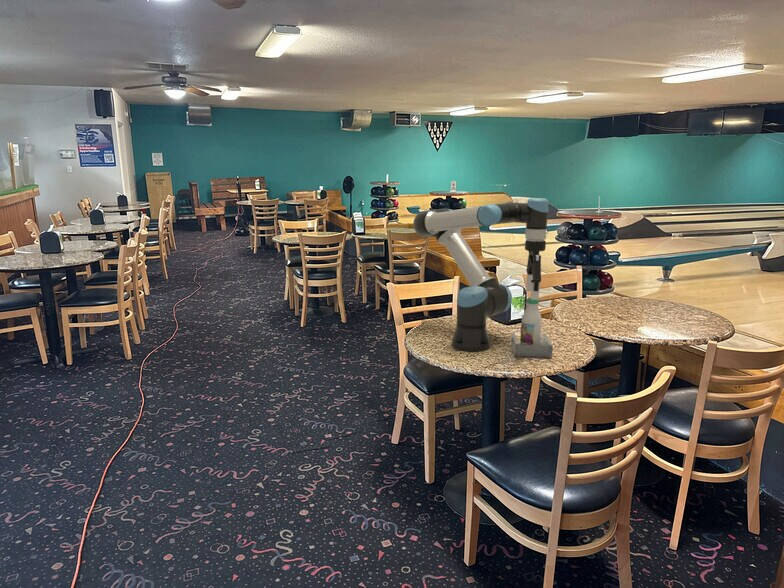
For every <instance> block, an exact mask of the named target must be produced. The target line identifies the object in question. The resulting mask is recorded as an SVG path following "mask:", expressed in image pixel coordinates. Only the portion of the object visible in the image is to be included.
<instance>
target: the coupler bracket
mask: <svg viewBox="0 0 784 588" xmlns="http://www.w3.org/2000/svg"><path fill="white" fill-rule="evenodd" d="M510 333H511V335H510V345H511V348H512V351H513V354H514V357H515V358H525V359H553V348H554V347H553V344H552V342H551V340H550V339H549V337H548V335H547V333H546V332H541V344H520V342H519V340H518V337H517V335H516V333H515V332H514V331H511V332H510Z"/></svg>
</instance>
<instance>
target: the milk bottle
mask: <svg viewBox="0 0 784 588" xmlns="http://www.w3.org/2000/svg"><path fill="white" fill-rule="evenodd" d="M539 303H540V298H539V299H531V297H527V298H526V308H525V311H524V312H523V314H522V317H521V324H520V342H519V343H520V344H541V343H542V324H543V323H542V315H541V312H540V309H539V305H540V304H539Z"/></svg>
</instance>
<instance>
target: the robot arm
mask: <svg viewBox="0 0 784 588" xmlns="http://www.w3.org/2000/svg"><path fill="white" fill-rule="evenodd" d="M548 217H549V201H548V199H547V198H544V197H543V198H542V197H541V198H540V197H538V198H537V197H529V198H528V199H527V202H514V201H507V202H502V203H487V204H484V205H478V206H472V207H467V208H460V209H454V210H453V209H451V208H450V209H449V208H440V209H425V210H422V211H420V212H418V213H417V214H416V215H415V217H414V218H413V225H412V227H413V229H414V231H415V233H416V234H417V235H418V236H421V237H424V238H435V239H436V241H437V242H438V244H439V245H444V247H445V249H446V250H447V251H448V253H449V255H450V256H451V257H452V259H453V260H454V262H455V263H456V265H457V267H458V268H459V270H460V271H461V273H462V274H463V276H464V277H465V279H466V280H467V282H468V283H469V285H470V286H467V287H463V288H461V289H460V290H458V292H457V298H456V328H455V331H454V333H453V336H452V340H451V347H453V348H454V349H456V350H459V351H464V352H483V351H487V350H489V349H490V346H491V340H490V337H489V333H488V329H487V318H489V317H493V316H495V315H501V314H502V313H504V312H506V311H507V310H509V309H510V307H511V305H512V302H513V301H512V300H513V295H512V291H511V289H510V288H509V287H508V286H507V285H504V284H501V283H499V281H498V280H497V279H496V278H495V277H493V276H490V275H489V274H488V272H487V271H486V269H485V268H484V266H483V265H482V264H481V261H480V260H479V259H478V257H477V255H476V254H475V253H474V251H473V250H472V248H471V246H469V244H468V243H467V241H466V239H465V238H464V236H463V235H462V234H461V232H462V229H468V228H475V227H477V228H478V227H484V226H494V225H500V224H501V225H502V224H512V223H518V224H522V223H523V224H525V241H524V250H526V251H527V252H528V258H527V265H526V270H525V271H526V288H525V289H526V290H525V291H526V292H531V294H530V298H531V299H539V300H540V285H541V281H542V265H541V264H542V255H541V254H540V252H544V251H546V247H547V246H546V245H547V242H546V239H547V234H549V231H547V230H548V229H547V228H548V227H547V226H548Z"/></svg>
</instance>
